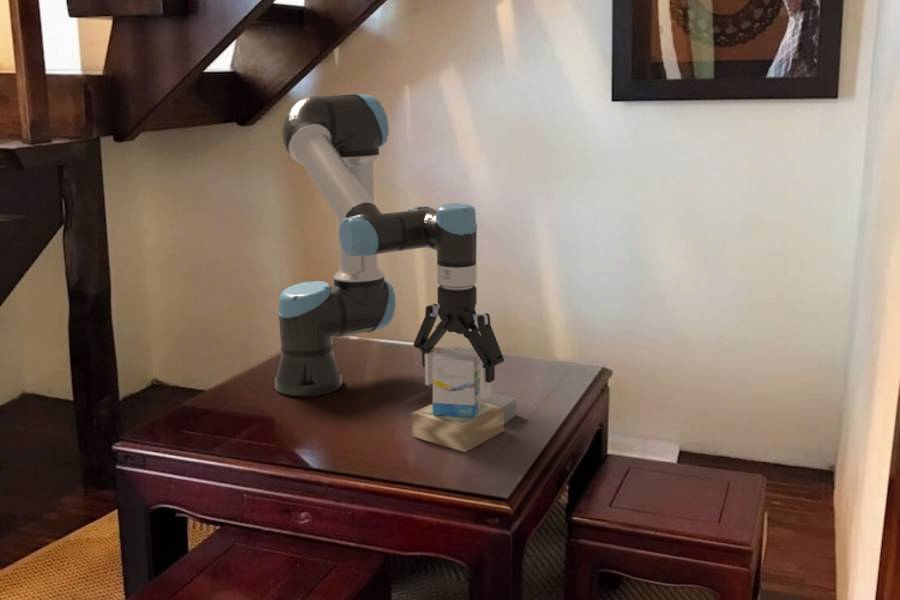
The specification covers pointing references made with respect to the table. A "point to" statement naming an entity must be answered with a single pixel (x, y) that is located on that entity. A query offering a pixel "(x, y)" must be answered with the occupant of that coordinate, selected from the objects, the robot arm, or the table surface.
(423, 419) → the pedestal
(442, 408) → the ink box
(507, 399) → the slate block
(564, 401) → the table surface
